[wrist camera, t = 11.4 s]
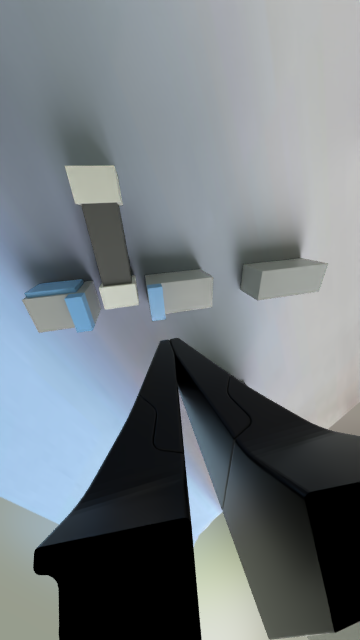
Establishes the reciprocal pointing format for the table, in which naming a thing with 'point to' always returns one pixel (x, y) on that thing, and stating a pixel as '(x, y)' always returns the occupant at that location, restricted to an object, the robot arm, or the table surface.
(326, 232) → the table surface
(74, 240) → the table surface
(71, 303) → the grey block row
